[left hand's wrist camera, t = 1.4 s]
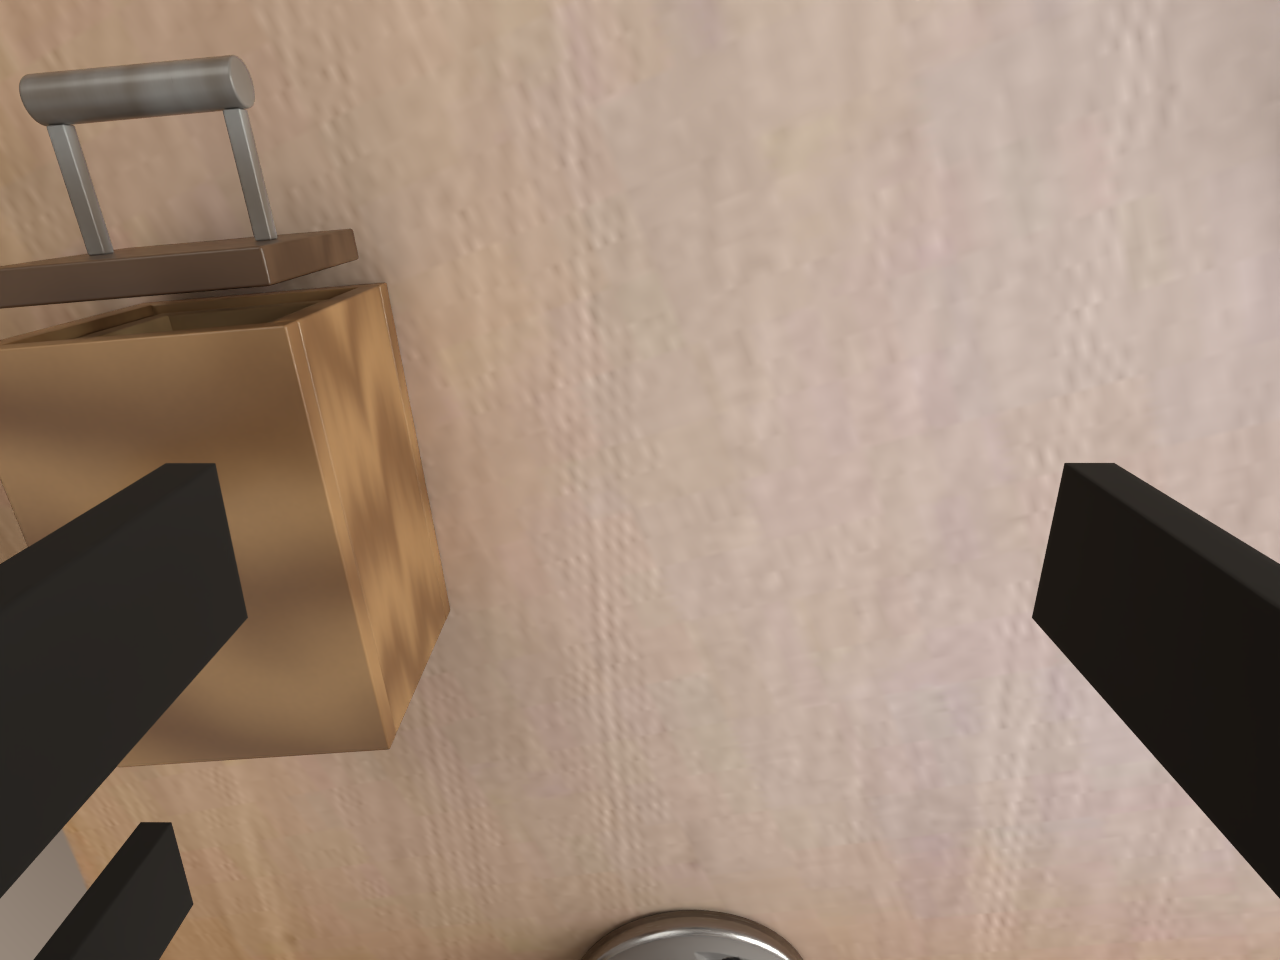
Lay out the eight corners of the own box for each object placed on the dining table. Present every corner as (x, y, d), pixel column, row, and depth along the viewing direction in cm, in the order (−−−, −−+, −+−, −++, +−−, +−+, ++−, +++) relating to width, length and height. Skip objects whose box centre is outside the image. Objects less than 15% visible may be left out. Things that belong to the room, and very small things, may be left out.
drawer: (77, 90, 30) (-119, 60, 22) (320, 67, 29) (207, 29, 22) (225, 571, 37) (118, 674, 30) (420, 556, 37) (363, 657, 29)
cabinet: (143, 302, 34) (-53, 353, 24) (386, 282, 33) (285, 325, 24) (242, 625, 39) (117, 768, 30) (450, 610, 39) (389, 750, 30)
